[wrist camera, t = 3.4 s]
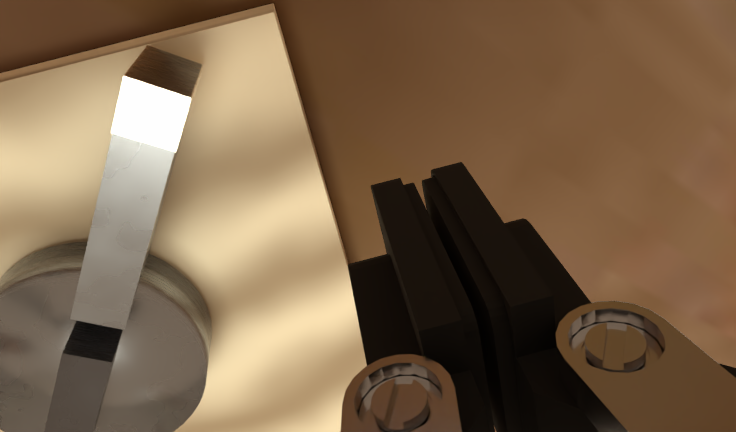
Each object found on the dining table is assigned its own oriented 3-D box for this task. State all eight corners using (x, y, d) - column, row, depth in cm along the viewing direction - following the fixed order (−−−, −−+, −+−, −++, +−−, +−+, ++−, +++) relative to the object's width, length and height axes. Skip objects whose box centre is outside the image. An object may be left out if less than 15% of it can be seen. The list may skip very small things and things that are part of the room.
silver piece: (183, 419, 31) (169, 504, 27) (-25, 386, 28) (-78, 476, 24) (301, 97, 24) (308, 144, 19) (32, 3, 20) (-31, 34, 16)
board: (-306, 151, 23) (-357, 175, 21) (273, 3, 24) (273, 13, 22) (9, 500, 35) (-6, 535, 34) (386, 397, 36) (393, 426, 34)
